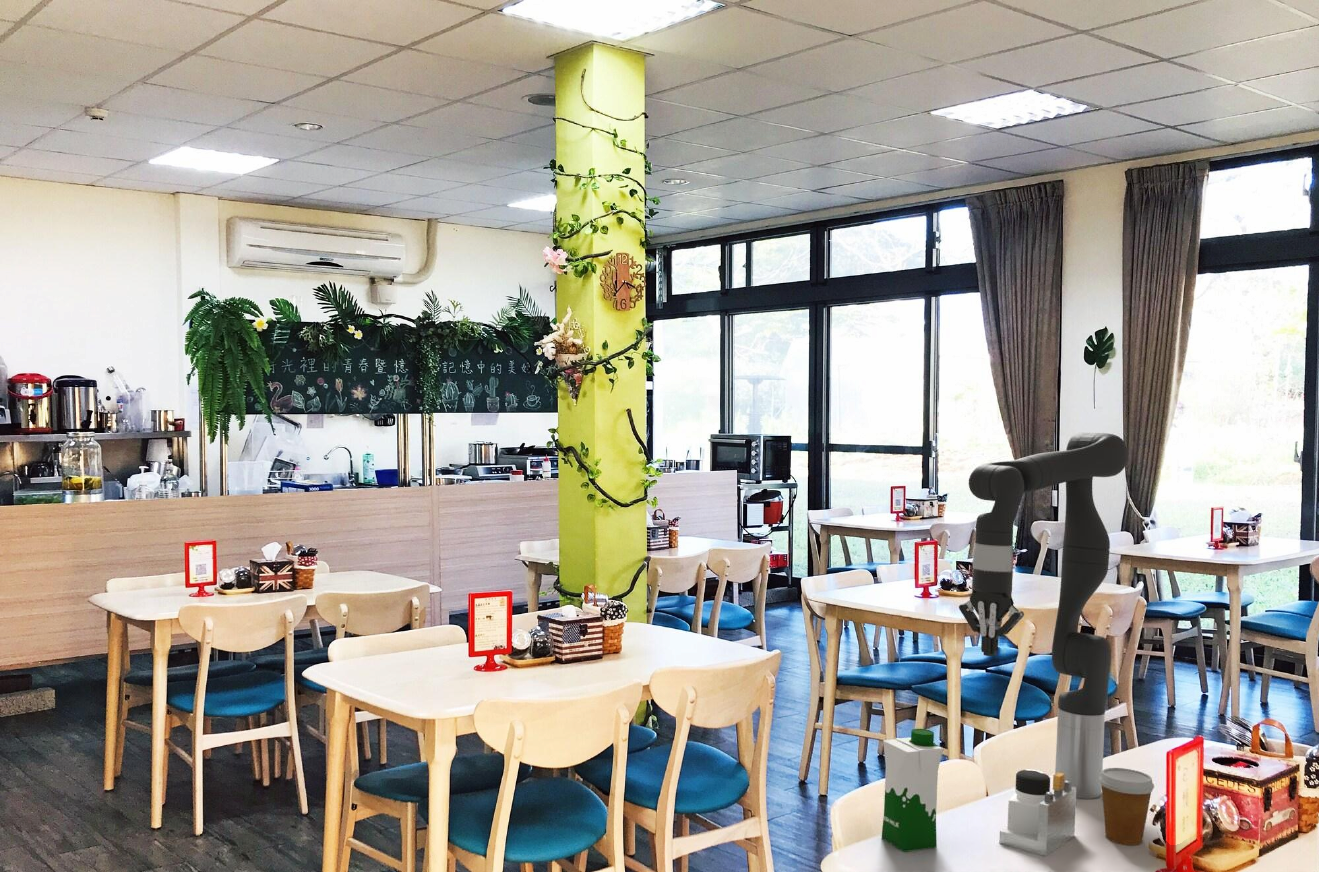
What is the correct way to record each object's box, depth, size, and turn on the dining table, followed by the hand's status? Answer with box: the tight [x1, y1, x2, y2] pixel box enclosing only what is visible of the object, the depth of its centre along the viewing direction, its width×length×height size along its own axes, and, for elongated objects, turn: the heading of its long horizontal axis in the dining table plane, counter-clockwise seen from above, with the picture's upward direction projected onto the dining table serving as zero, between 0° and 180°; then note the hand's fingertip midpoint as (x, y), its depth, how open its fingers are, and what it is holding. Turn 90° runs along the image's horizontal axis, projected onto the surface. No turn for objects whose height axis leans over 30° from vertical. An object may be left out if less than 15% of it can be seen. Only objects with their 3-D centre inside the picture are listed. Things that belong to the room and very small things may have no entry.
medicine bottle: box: [1006, 769, 1051, 838], centre depth 208 cm, size 7×7×12 cm
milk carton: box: [881, 728, 944, 853], centre depth 203 cm, size 9×9×20 cm
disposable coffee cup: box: [1099, 767, 1155, 846], centre depth 209 cm, size 10×10×12 cm
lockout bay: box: [999, 772, 1077, 857], centre depth 207 cm, size 14×9×13 cm, turn 140°
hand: (989, 655), depth 220 cm, fingers closed
